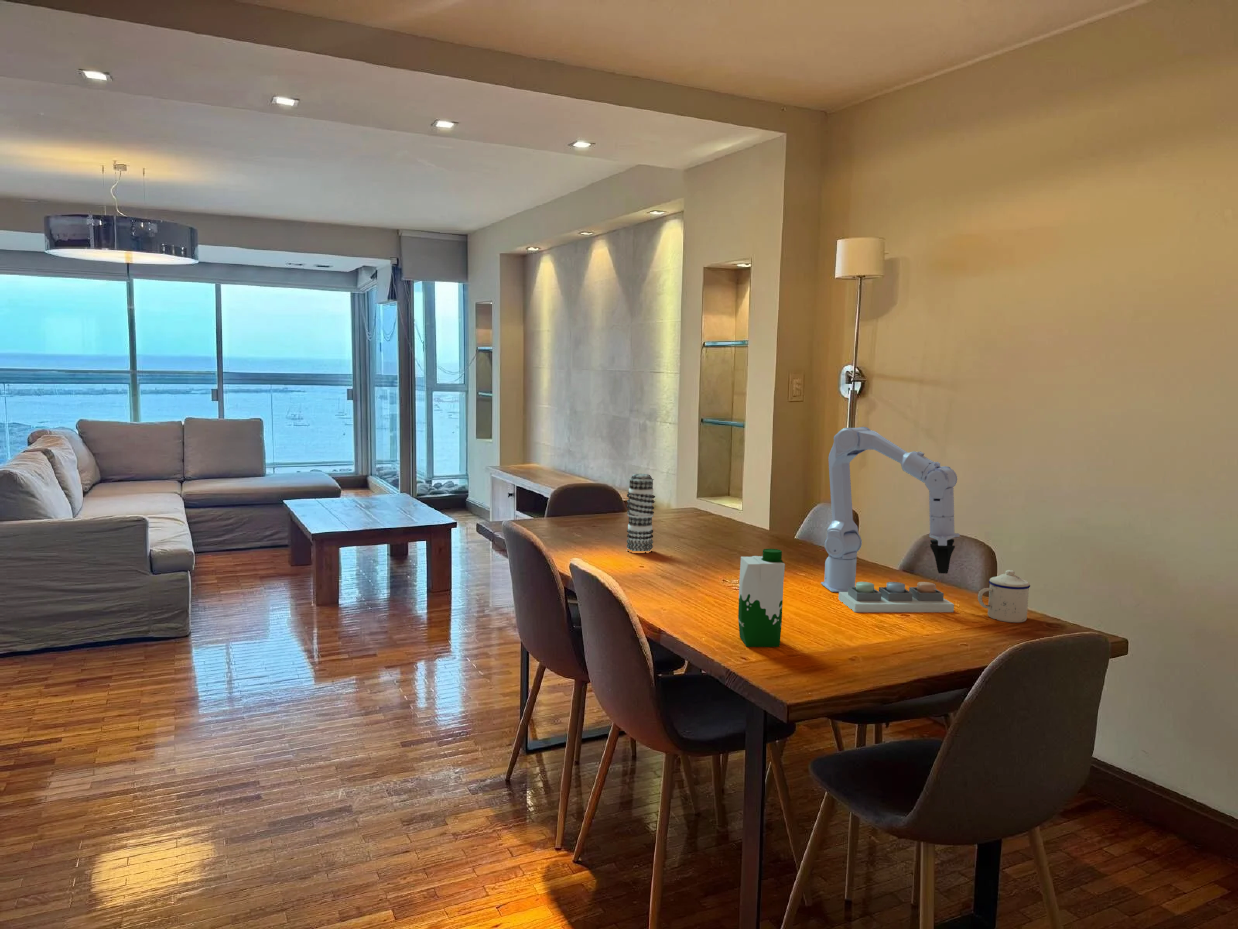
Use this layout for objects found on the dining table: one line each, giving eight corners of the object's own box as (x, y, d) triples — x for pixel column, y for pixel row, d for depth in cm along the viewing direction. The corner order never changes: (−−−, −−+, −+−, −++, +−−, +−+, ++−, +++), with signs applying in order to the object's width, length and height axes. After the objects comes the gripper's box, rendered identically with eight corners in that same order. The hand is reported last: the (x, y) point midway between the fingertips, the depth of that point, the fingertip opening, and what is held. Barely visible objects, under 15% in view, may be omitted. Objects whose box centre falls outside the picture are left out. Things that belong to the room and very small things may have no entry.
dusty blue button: (883, 590, 217) (884, 581, 217) (900, 590, 217) (900, 581, 217) (890, 594, 213) (890, 586, 213) (907, 594, 213) (908, 586, 213)
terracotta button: (914, 590, 218) (914, 581, 218) (930, 590, 218) (931, 581, 218) (921, 594, 213) (921, 586, 213) (938, 594, 214) (938, 586, 214)
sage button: (852, 590, 216) (853, 581, 216) (869, 590, 217) (870, 581, 217) (859, 594, 212) (859, 586, 212) (876, 594, 212) (876, 586, 212)
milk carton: (785, 648, 179) (788, 554, 177) (742, 648, 179) (745, 554, 177) (774, 635, 188) (778, 546, 186) (733, 635, 187) (737, 546, 185)
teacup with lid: (1015, 612, 211) (1018, 566, 210) (1035, 623, 202) (1038, 575, 201) (968, 612, 210) (971, 566, 209) (986, 623, 201) (989, 574, 200)
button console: (838, 599, 220) (839, 584, 220) (932, 599, 222) (932, 584, 222) (854, 612, 209) (855, 596, 208) (953, 612, 211) (954, 596, 210)
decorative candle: (621, 552, 273) (623, 475, 271) (629, 547, 282) (631, 472, 279) (649, 555, 271) (651, 476, 268) (656, 549, 279) (658, 473, 277)
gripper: (960, 519, 203) (961, 576, 204) (958, 512, 217) (959, 565, 217) (928, 519, 205) (929, 575, 206) (928, 512, 219) (929, 565, 220)
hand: (942, 570), depth 212 cm, fingers open, 7 cm apart
